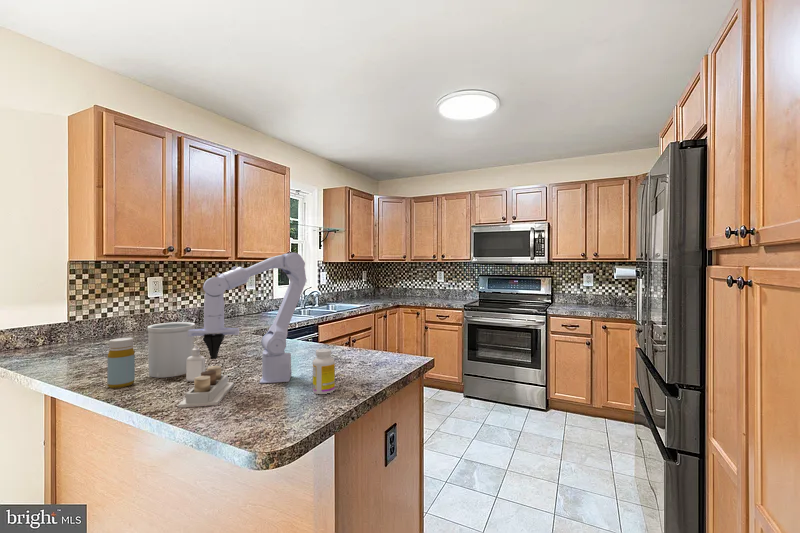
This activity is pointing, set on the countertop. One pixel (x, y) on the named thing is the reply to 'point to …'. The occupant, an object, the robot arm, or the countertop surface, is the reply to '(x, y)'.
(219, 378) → the maple plug
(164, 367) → the utensil holder
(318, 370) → the supplement bottle
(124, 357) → the bottle
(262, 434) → the countertop surface
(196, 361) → the eye dropper bottle
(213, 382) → the walnut plug
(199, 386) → the maple plug
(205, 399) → the white compartment tray
